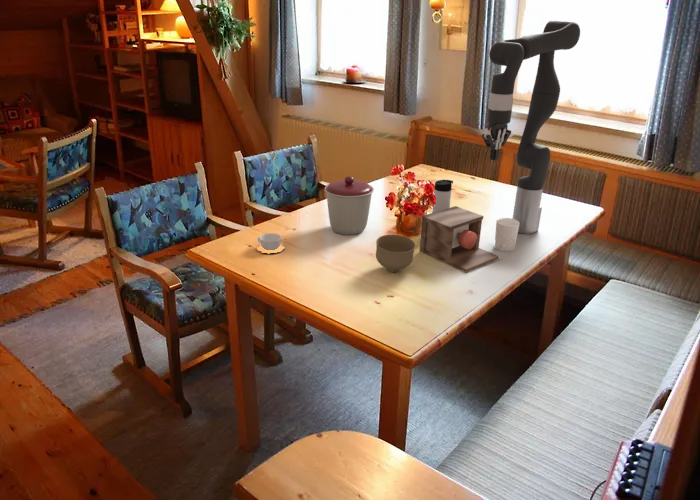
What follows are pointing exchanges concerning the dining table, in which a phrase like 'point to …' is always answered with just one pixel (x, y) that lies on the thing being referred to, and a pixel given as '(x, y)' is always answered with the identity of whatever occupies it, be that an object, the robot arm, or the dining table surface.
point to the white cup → (506, 234)
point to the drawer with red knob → (464, 237)
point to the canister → (348, 205)
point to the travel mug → (442, 195)
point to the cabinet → (440, 239)
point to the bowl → (395, 252)
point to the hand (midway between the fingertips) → (493, 159)
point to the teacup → (270, 241)
